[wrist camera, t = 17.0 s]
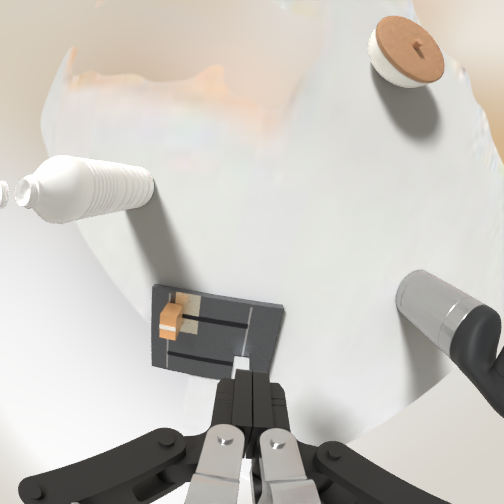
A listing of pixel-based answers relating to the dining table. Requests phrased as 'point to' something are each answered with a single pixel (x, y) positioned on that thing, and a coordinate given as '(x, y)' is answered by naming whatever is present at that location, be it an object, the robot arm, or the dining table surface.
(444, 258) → the dining table surface
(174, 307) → the fader orange
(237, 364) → the white banded fader cap
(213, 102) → the dining table surface
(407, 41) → the lidded bowl
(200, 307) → the console
